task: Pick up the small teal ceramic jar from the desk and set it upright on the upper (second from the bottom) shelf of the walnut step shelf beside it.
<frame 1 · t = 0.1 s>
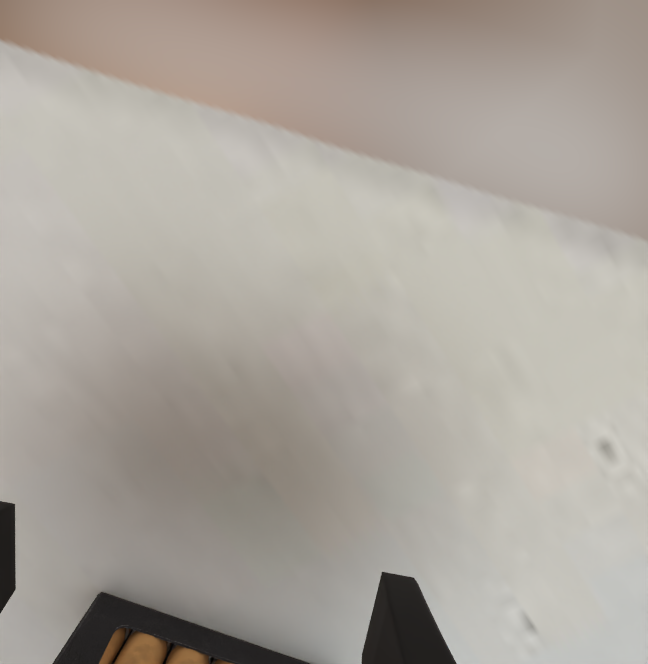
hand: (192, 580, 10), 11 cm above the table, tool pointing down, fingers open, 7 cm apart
ammunition clip: (214, 648, 22), on the table
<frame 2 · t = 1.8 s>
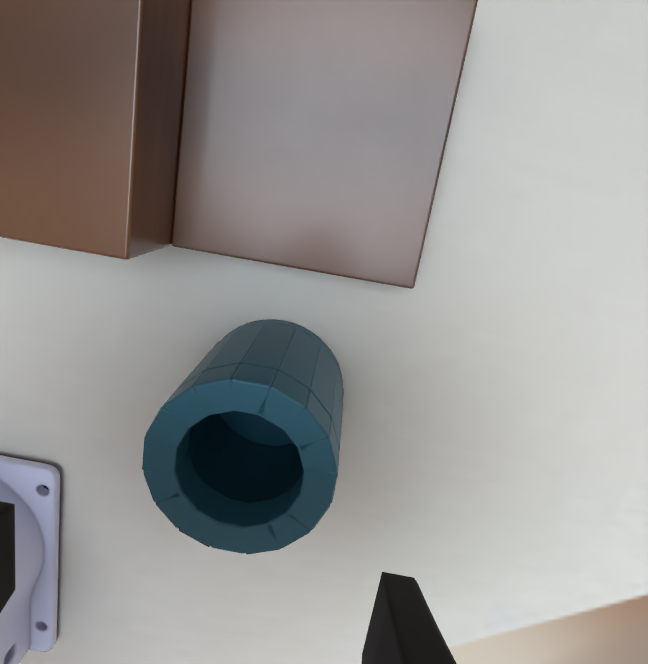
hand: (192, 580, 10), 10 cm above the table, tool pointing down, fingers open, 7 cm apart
step shelf: (206, 116, 17), on the table
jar: (273, 385, 19), on the table
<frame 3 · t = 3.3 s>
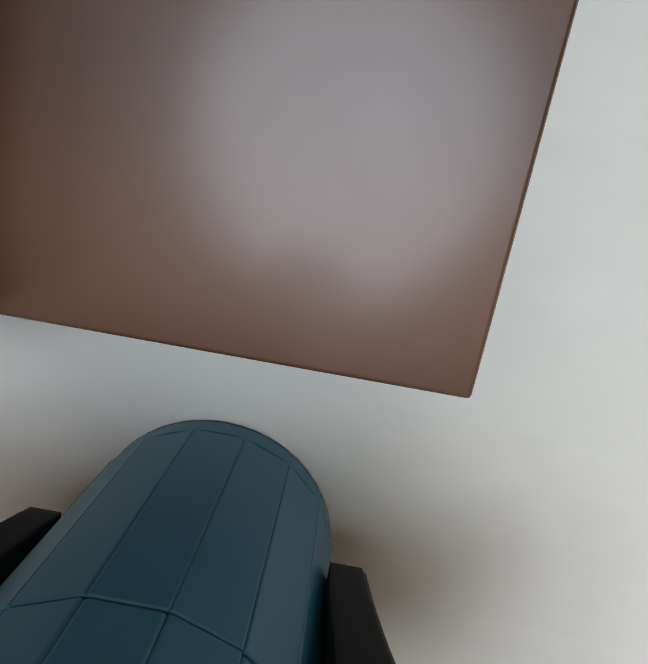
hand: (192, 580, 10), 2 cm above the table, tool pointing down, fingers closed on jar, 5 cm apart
step shelf: (71, 57, 9), on the table
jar: (213, 526, 11), on the table, touching gripper
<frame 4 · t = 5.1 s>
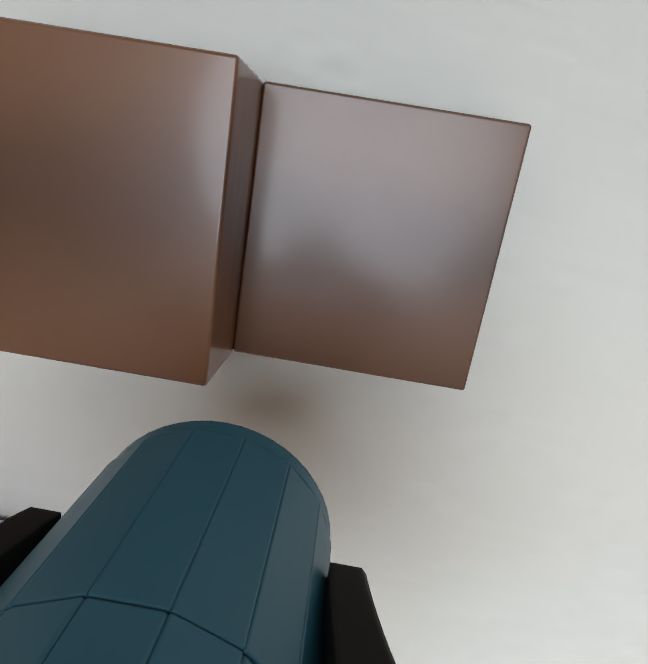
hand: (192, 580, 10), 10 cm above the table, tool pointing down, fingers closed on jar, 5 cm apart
step shelf: (261, 220, 18), on the table
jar: (213, 525, 11), point 8 cm above the table, touching gripper
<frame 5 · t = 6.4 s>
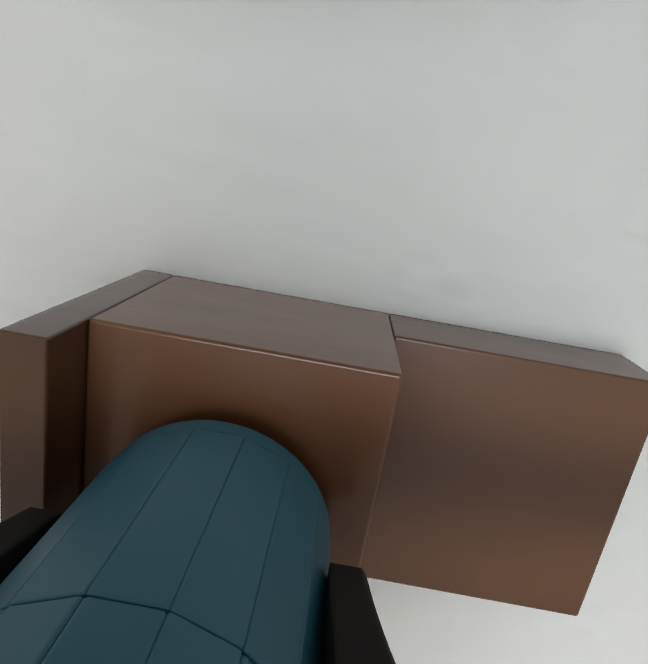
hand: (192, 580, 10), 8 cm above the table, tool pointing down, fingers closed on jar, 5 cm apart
step shelf: (365, 425, 18), on the table
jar: (213, 525, 11), point 6 cm above the table, touching gripper
when the fingers open (7 cm above the table, at t = 7.2 s): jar stays where it is, resting on step shelf.
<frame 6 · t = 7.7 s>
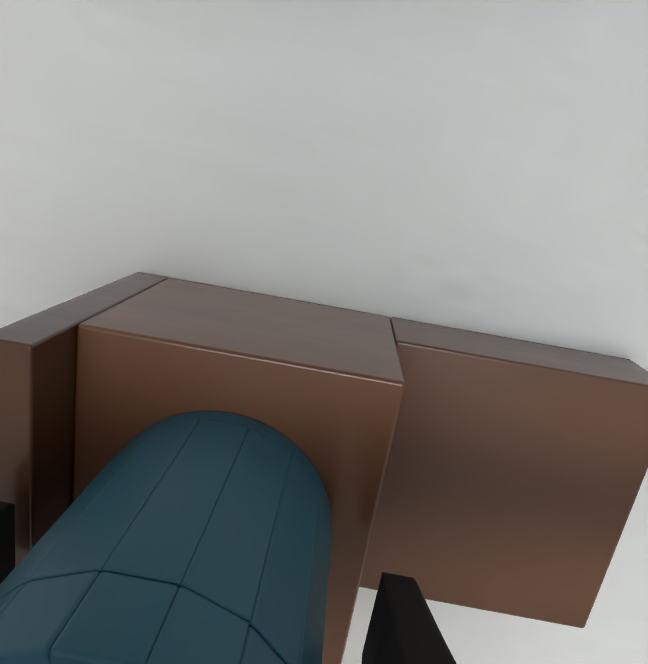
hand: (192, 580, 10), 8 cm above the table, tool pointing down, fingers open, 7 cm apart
step shelf: (366, 431, 17), on the table
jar: (218, 513, 12), point 5 cm above the table, touching step shelf
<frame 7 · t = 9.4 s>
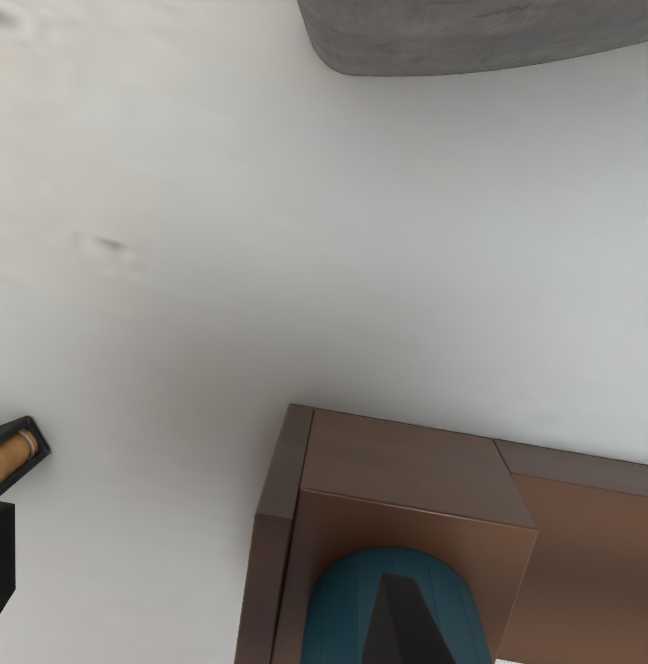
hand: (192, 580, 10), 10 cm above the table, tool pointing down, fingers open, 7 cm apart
step shelf: (467, 524, 21), on the table
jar: (390, 617, 16), point 5 cm above the table, touching step shelf
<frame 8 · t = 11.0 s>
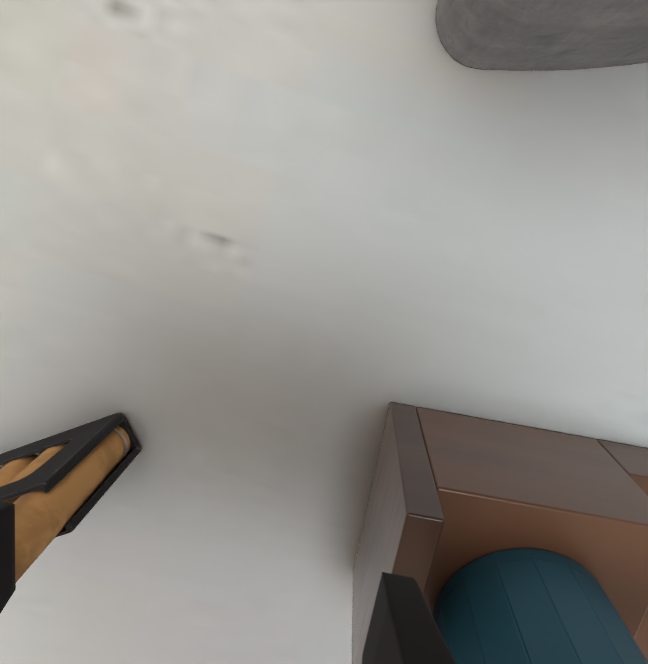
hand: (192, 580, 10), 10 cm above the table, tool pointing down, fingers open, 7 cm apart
ammunition clip: (26, 466, 22), on the table
step shelf: (564, 525, 21), on the table
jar: (519, 619, 16), point 5 cm above the table, touching step shelf
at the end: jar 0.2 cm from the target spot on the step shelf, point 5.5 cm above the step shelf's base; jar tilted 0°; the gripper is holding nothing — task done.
